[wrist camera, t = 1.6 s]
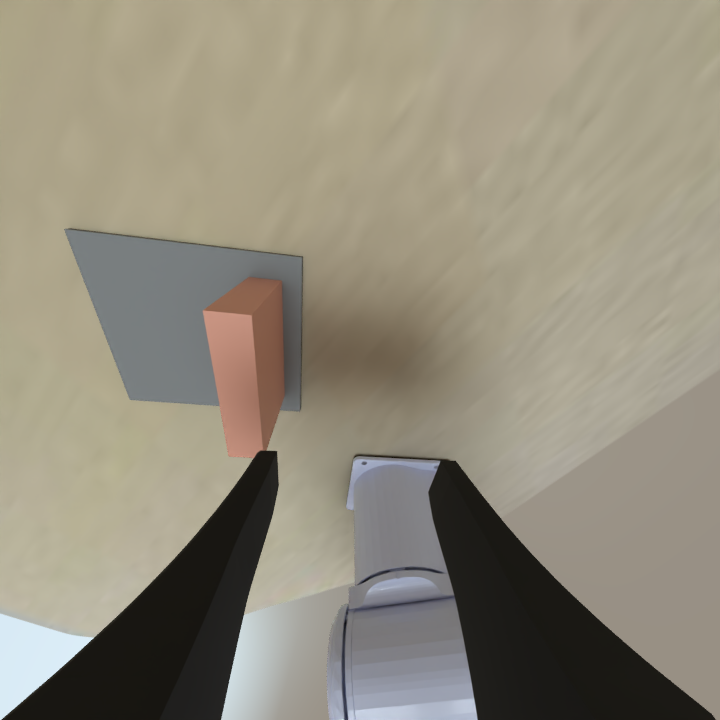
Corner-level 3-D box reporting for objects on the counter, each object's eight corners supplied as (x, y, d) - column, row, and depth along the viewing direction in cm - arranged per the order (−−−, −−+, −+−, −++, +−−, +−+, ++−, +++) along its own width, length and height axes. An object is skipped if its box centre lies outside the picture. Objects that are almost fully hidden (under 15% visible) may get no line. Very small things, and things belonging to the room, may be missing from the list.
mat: (302, 256, 16) (301, 257, 16) (300, 409, 22) (299, 411, 22) (69, 228, 15) (64, 229, 15) (132, 397, 21) (130, 399, 21)
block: (281, 280, 17) (251, 315, 11) (284, 395, 21) (263, 458, 16) (248, 276, 16) (202, 310, 11) (258, 393, 21) (228, 456, 16)
